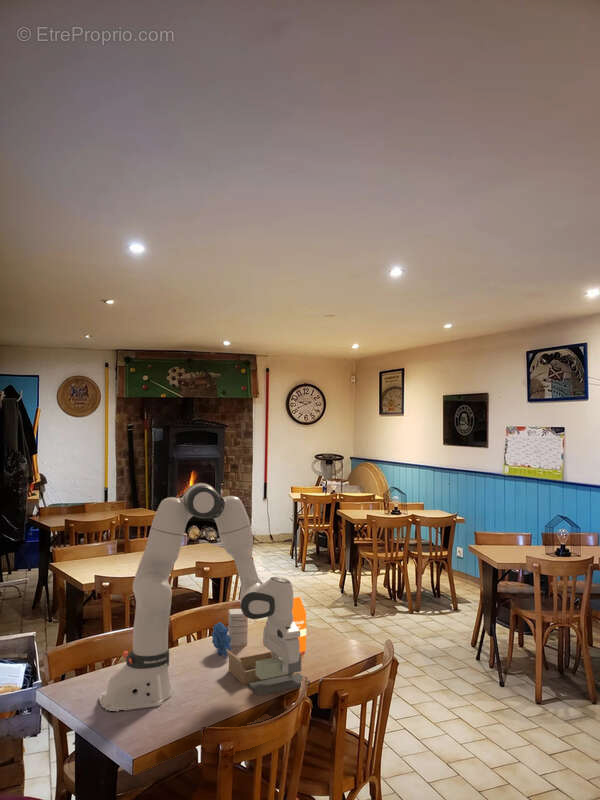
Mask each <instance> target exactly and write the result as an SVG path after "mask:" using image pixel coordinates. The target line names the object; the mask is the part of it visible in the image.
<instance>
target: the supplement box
mask: <svg viewBox="0 0 600 800" xmlns="http://www.w3.org/2000/svg"><path fill="white" fill-rule="evenodd" d="M248 621H249V618H247V617H246V616H245V615H244V614H243V613H242V610H241V608H231V609H228V628H227V629H228V633H227V634H228V635H229V636H230V637H231V642H230V643H229V644H230V645H231V647H239V646H240V647H241V646H248V627H249V626H248V625H249V624H248V623H249V622H248Z"/></svg>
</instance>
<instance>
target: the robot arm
mask: <svg viewBox="0 0 600 800" xmlns="http://www.w3.org/2000/svg"><path fill="white" fill-rule="evenodd" d="M157 507H158V508H157V509H156V512H155V514H154V517H153V520H152V522H151V526H150V530H149V533H148V537H147V540H146V543H145V548H144V552H143V555H142V556H141V559H140V562H139V565H138V566H137V570H136V573H135V576H134V578H133V582H132V591H133V595H134V597H135V598H134V599H135V611H134V612H135V614H134V622H133V627H132V628H133V632H132V633H133V634H132V637H133V638H132V650H131V651H130V652H128V650H125V651H123V653H122V654H121V655H122V657H123V659H124V660H125V661H126V664H124V665H123V666H122V667H121V668H120V669H119V670H118V671H116V672H115V673H114V674H113V675H112V676H111V677H110V678H109V680H108V681H107V682H108V683H107V687H106V688H107V689H106V690H105V691H102V692H101V694H100V695H99V697H98V698H99V699H98V702H100V703H99V705H100V704H101V705H100V706H102V707H103V708H105V709H107V710H109V711H116V712H120V711H119V710H124V711H129V710H138V709H146V708H154V707H159V706H161V705H162V704H163V703H164V701H166V700H167V699H169V698H171V696H172V693H173V690H172V688H171V683H170V677H169V665H170V648H169V621H170V615H171V607H172V596H173V589H172V586H171V584H170V582H169V579H170V575H171V573H172V570H173V568H174V566H175V563H176V561H177V560H178V558H179V555H180V551H181V547H182V543H183V540H184V535H185V532H186V528H187V524H188V522H189V520H191V518H192V517H195V518H199V519H213V520H214V522H215V524H216V527H217V531H218V535H219V538H220V542H221V544H222V545H223V548H224V551H225V552H226V554H228V555H229V556H230V557H231V558H232V559H233V561H234V563H235V567H236V570H237V573H238V577H239V581H240V589H239V595H238V597H239V601H240V609H241V610H242V613H243V614H244V615H245V616H246V617H247V618H248V619H250V620H260V619H265V618H267V621H266V622H265V626H264V627H263V635H262V636H263V637H262V644H263V647H265V648H266V649H267V650H269V652H271V655H272V658H275V657H278V656H279V657H280V658H282V661H283V664H282V665H281V670H282V671H283V672H286V671H287V670H288V664H291V663H296V662H298V660H299V656H300V653H301V652H300V642H299V639H298V637H300V630H299V629H298V628H297V626H296V625H295V622H294V621H293V613H292V608H293V598H294V589H293V584H292V583H291V581H290V580H289V579H287V578H285V577H280V576H273V577H272V576H271V577H270V578H269V579H268V580H267V581H265V582H262V581H261V579H260V578H259V576H258V572H257V569H256V566H255V563H254V557H253V548H254V538H253V536H254V535H253V530H252V525H251V523H250V522H251V521H250V519H249V516H248V515H249V514H248V513H247V510H246V508H245V505H244V504H243V502H242V500H241V499H240V498H239V497H237V496H234V495H227V496H222V495H220V494H219V492H218V491H217V490H216V489H215V488H214V487H213V486H212V485H210V484H208V483H205V482H197V483H194V484H192V485H190V486H189V487H188V488H187V489H186V490H185V491H184V492H183V493H182V494H180V497H174V496H171V497H166V498H164V499H162V500H161V501H160V503H159V504H158V506H157ZM102 707H101V708H102ZM103 708H102V709H103ZM105 709H104V710H105ZM107 710H106V711H107ZM109 711H108V712H109Z"/></svg>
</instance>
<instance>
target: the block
mask: <svg viewBox="0 0 600 800" xmlns="http://www.w3.org/2000/svg"><path fill="white" fill-rule="evenodd" d="M282 664H283V661H282V658H280V657H275V658H270V659H265V660H260V661H256V666H255V669H256V676H257V677H258V678H260V679H261V680H262V681H263V679H268V678H271V679H272V677H276V678H277V676H281V675H285V676H286V674H290V673H294V674H296V673H299V672H302V652H300V656H299V660H298V662H296V663H291V664H288V670H287V671H286V672H283V671H282V670H281V665H282ZM290 675H291V674H290Z"/></svg>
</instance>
